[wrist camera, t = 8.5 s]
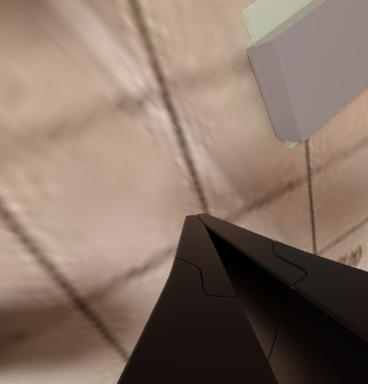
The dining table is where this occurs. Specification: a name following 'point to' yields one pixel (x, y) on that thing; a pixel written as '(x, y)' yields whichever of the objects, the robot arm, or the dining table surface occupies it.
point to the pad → (270, 21)
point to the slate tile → (312, 65)
